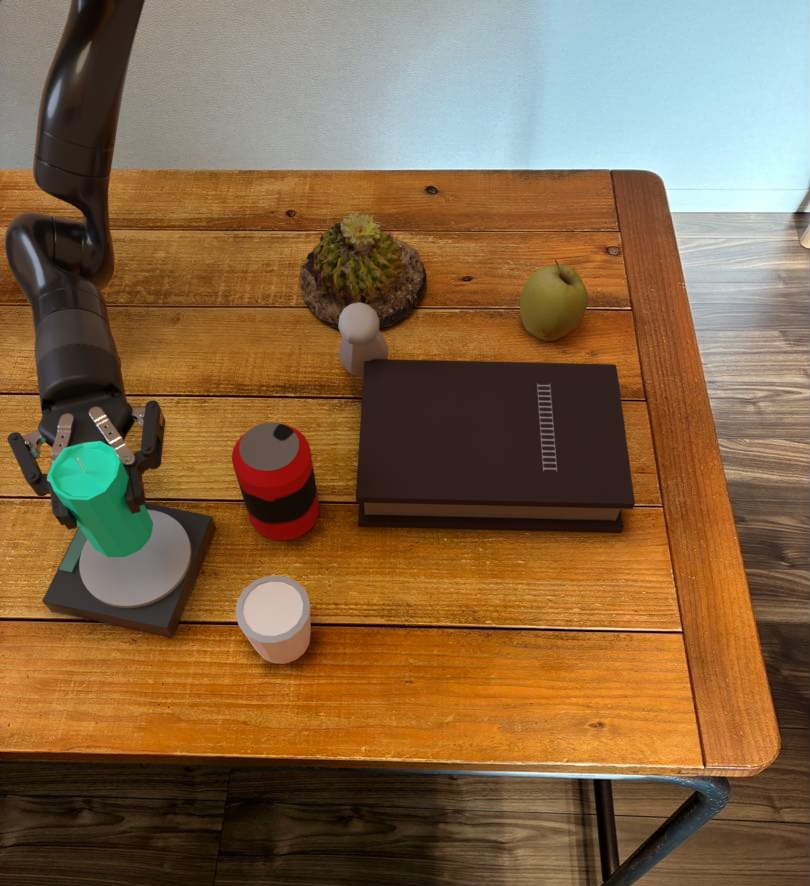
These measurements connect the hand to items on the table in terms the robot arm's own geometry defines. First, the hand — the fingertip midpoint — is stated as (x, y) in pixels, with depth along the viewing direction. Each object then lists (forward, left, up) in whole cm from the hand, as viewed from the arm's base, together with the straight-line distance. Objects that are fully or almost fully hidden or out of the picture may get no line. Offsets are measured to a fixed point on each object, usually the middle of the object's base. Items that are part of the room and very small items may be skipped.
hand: (101, 515), depth 70 cm
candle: (-1, +2, -7) cm, 8 cm away
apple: (+35, +45, -15) cm, 59 cm away
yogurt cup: (+15, -2, -15) cm, 21 cm away
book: (+31, +24, -15) cm, 42 cm away
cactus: (+11, +47, -15) cm, 51 cm away
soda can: (+11, +12, -15) cm, 22 cm away
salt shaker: (+14, +34, -14) cm, 39 cm away
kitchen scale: (-2, +2, -15) cm, 15 cm away
